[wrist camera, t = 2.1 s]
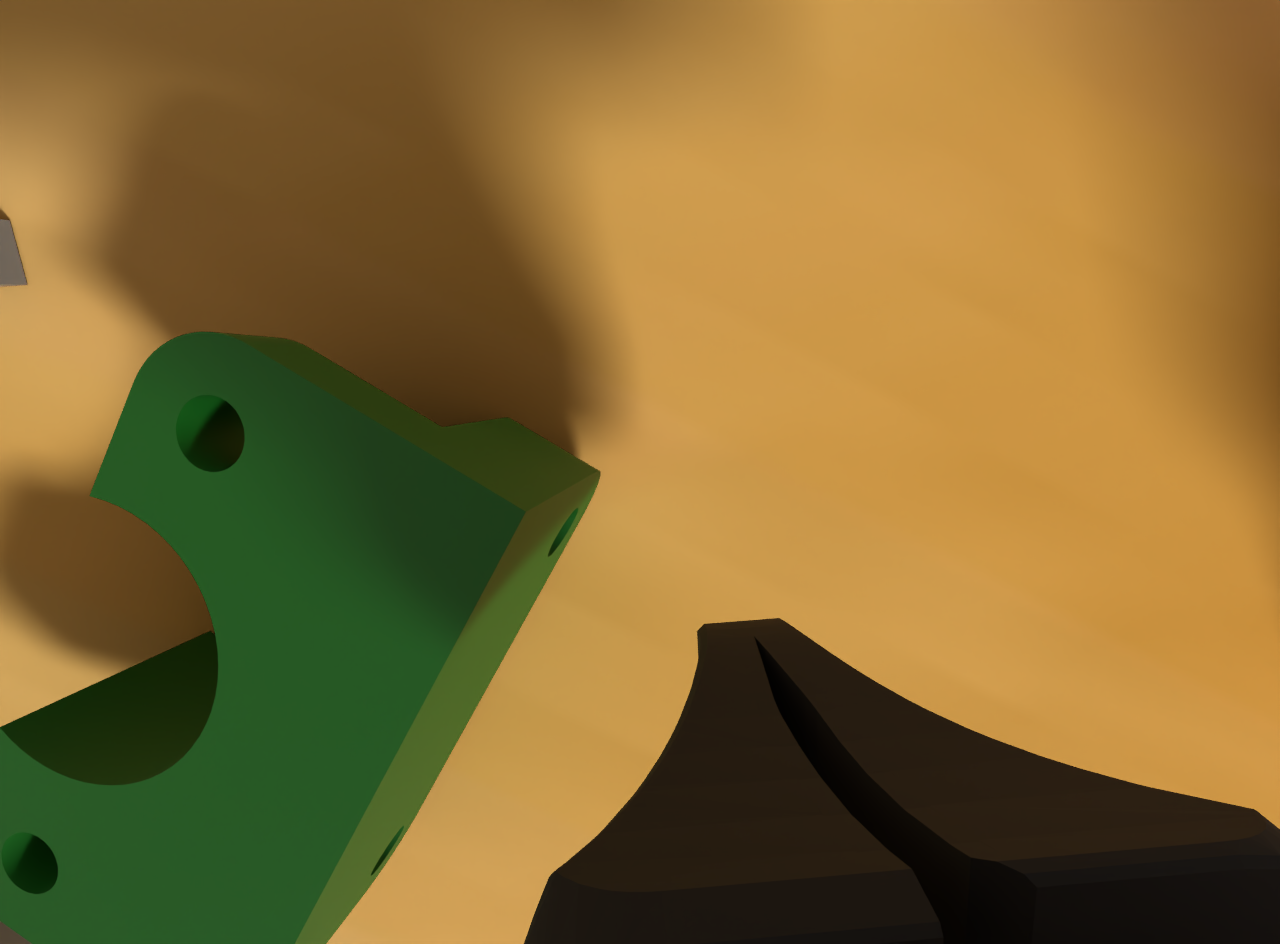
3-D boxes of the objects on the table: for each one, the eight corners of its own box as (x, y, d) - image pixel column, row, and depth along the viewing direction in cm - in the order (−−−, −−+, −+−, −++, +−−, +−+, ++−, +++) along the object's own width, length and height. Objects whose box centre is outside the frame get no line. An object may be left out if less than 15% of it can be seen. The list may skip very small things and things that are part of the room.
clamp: (415, 398, 19) (245, 200, 10) (603, 511, 19) (594, 405, 10) (124, 810, 17) (-430, 1016, 8) (332, 951, 16) (-8, 1342, 7)
